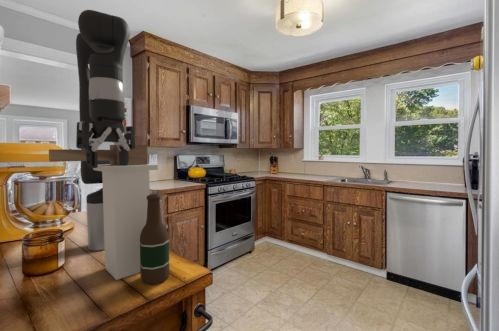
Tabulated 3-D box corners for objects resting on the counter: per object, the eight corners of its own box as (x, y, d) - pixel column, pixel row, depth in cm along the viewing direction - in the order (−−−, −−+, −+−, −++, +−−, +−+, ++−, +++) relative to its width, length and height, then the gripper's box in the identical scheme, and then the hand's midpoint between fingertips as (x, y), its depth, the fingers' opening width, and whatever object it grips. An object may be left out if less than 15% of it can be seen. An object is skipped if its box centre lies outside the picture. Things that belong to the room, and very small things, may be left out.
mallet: (47, 166, 67) (46, 143, 67) (137, 163, 83) (136, 145, 83) (53, 168, 61) (52, 143, 61) (147, 164, 78) (147, 144, 77)
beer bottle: (175, 277, 73) (174, 194, 72) (151, 289, 67) (149, 198, 66) (158, 269, 78) (156, 191, 76) (134, 280, 71) (132, 195, 70)
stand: (96, 269, 78) (93, 164, 76) (142, 255, 88) (140, 163, 86) (110, 284, 69) (106, 166, 67) (159, 267, 79) (157, 164, 77)
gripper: (120, 105, 70) (121, 164, 71) (66, 95, 57) (69, 168, 58) (141, 104, 67) (142, 165, 68) (90, 93, 54) (92, 169, 55)
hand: (109, 166), depth 63 cm, fingers open, 8 cm apart
